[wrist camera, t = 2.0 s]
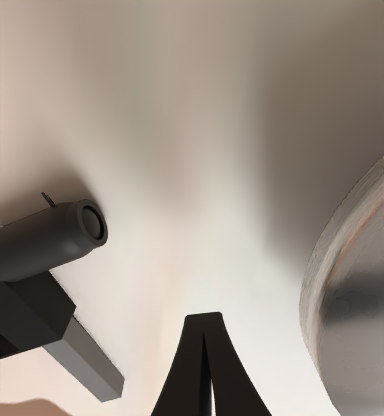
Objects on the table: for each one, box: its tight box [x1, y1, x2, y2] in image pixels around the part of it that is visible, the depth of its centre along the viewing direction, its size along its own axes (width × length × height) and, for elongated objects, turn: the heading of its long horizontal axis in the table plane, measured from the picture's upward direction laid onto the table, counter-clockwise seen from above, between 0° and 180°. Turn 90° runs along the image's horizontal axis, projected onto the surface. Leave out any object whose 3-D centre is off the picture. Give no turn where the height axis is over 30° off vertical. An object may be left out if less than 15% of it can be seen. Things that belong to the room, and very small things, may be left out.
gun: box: [0, 192, 124, 402], centre depth 17 cm, size 3×20×16 cm
